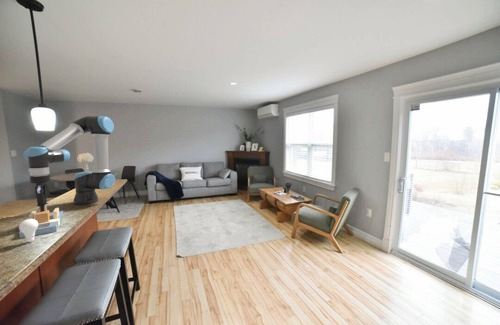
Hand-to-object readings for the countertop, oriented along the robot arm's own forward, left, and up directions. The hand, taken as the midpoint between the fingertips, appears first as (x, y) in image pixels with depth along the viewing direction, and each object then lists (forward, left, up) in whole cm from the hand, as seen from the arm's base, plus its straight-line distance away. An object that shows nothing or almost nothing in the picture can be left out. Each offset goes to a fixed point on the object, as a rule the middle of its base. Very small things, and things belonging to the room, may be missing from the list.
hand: (43, 216), depth 115 cm
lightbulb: (+21, +10, -5) cm, 24 cm away
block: (+3, +2, -2) cm, 3 cm away
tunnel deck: (+1, +1, -5) cm, 5 cm away
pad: (+4, +2, -5) cm, 7 cm away
